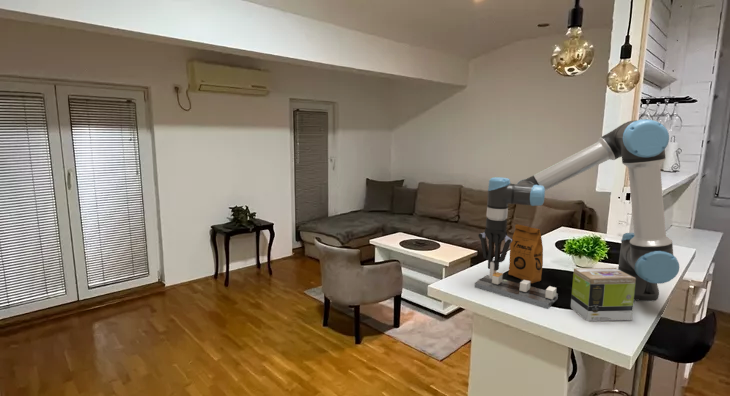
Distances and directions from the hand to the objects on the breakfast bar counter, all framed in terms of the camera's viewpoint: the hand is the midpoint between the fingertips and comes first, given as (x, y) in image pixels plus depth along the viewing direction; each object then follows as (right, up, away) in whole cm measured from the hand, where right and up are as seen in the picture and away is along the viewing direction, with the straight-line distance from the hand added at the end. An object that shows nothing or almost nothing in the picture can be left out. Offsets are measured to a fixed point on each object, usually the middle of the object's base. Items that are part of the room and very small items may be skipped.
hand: (492, 277), depth 151 cm
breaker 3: (+16, -4, -14) cm, 21 cm away
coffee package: (+17, -2, +10) cm, 19 cm away
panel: (+7, -5, -5) cm, 10 cm away
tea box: (+29, -8, -21) cm, 37 cm away
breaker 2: (+9, -3, -8) cm, 12 cm away
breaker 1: (+1, -2, -1) cm, 2 cm away
